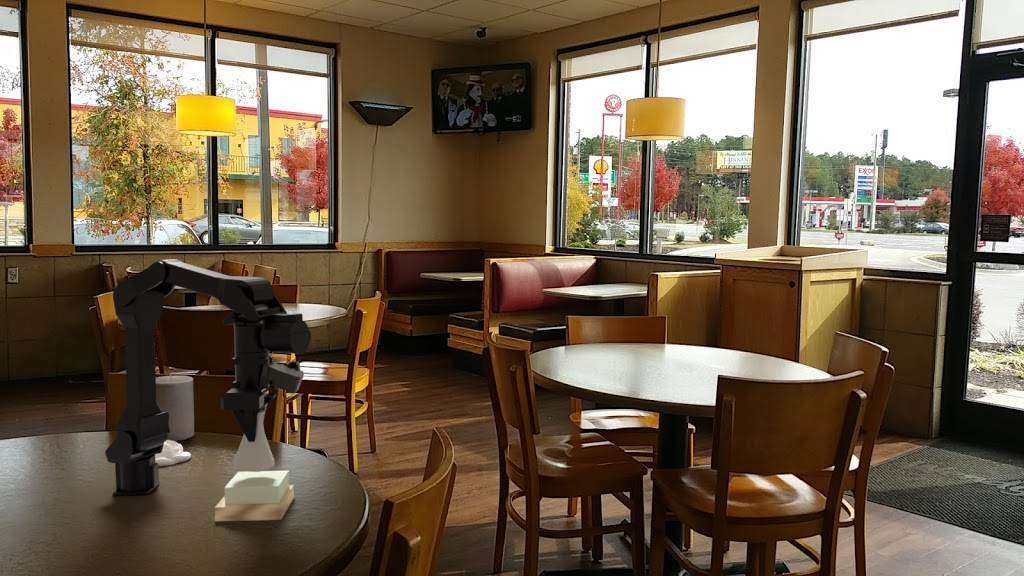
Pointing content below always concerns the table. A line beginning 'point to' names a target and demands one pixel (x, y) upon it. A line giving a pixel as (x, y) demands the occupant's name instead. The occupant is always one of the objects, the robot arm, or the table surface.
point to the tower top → (257, 487)
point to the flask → (254, 452)
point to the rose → (171, 454)
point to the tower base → (254, 509)
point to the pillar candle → (177, 405)
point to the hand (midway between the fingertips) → (254, 439)
